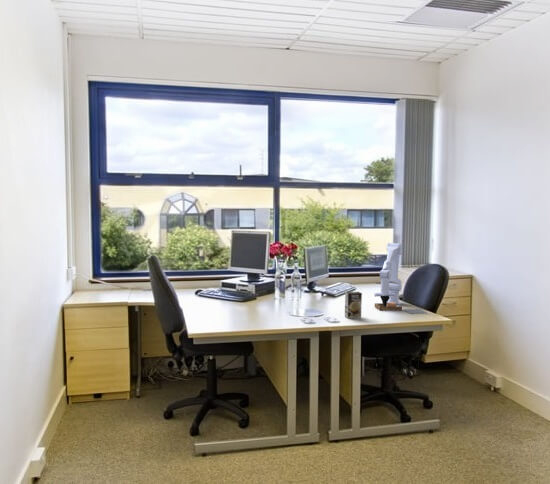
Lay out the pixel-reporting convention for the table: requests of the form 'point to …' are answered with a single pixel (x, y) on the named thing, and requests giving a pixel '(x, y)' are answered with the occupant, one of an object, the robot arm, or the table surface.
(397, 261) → the robot arm
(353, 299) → the coffee box
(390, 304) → the block
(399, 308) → the cubby
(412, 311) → the mat
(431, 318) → the table surface
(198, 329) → the table surface
